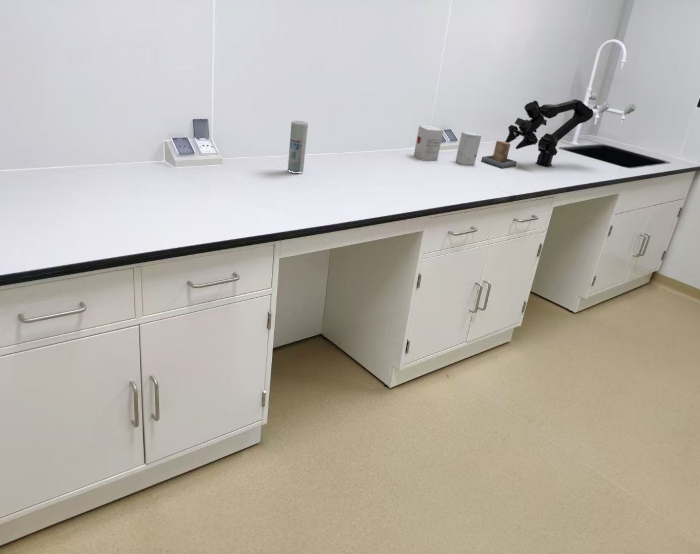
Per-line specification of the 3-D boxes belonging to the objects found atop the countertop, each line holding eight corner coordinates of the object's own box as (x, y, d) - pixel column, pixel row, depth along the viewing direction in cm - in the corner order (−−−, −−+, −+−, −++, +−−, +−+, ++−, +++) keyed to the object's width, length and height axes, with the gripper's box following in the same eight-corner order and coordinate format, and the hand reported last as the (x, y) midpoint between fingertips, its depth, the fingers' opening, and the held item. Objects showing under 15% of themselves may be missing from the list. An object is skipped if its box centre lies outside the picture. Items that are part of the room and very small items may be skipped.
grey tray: (515, 166, 296) (516, 161, 295) (501, 168, 288) (502, 163, 287) (495, 159, 304) (496, 154, 303) (481, 161, 296) (482, 156, 295)
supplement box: (413, 155, 289) (418, 124, 283) (428, 155, 293) (434, 125, 287) (422, 160, 282) (428, 129, 276) (437, 160, 286) (443, 130, 280)
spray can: (284, 171, 235) (288, 121, 227) (293, 168, 241) (297, 119, 232) (297, 175, 233) (302, 125, 224) (306, 172, 238) (311, 123, 230)
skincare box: (460, 164, 284) (466, 134, 278) (454, 161, 289) (461, 131, 283) (475, 165, 287) (482, 135, 281) (469, 162, 292) (476, 132, 286)
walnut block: (499, 160, 299) (504, 141, 294) (505, 163, 295) (510, 143, 290) (491, 160, 297) (496, 141, 292) (497, 163, 293) (502, 143, 288)
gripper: (515, 108, 296) (492, 129, 297) (539, 117, 281) (515, 139, 282) (524, 124, 303) (501, 145, 303) (547, 133, 288) (524, 155, 288)
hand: (510, 146), depth 294 cm, fingers open, 9 cm apart
